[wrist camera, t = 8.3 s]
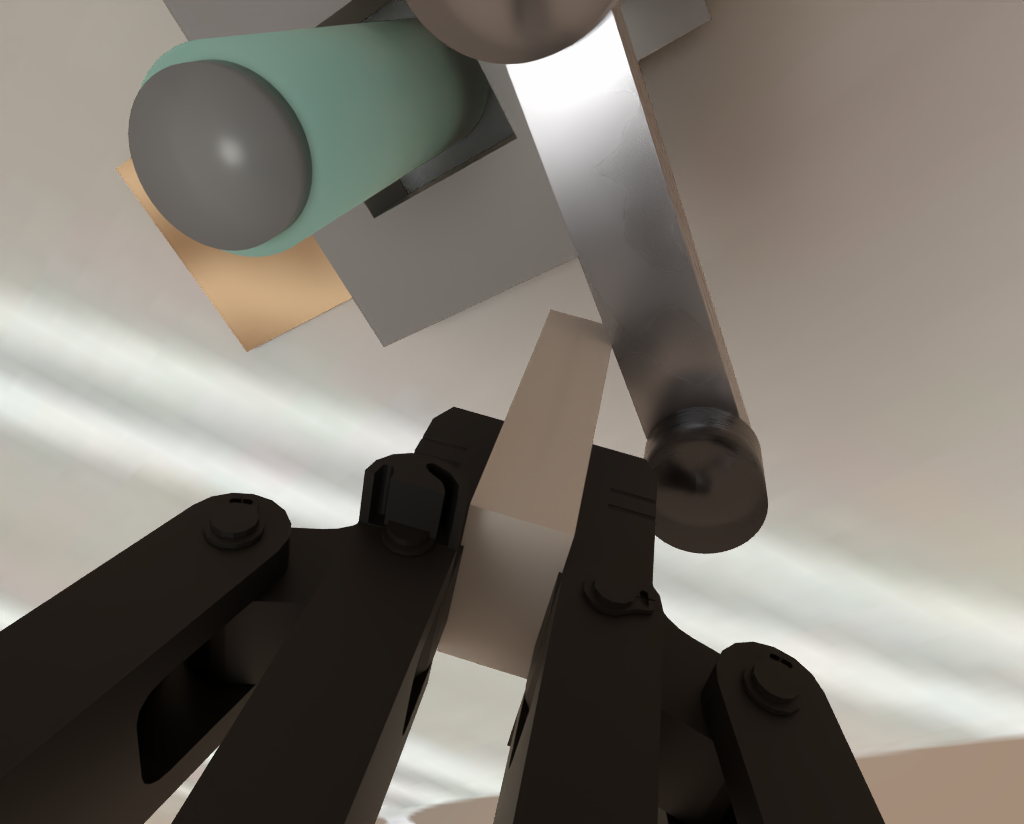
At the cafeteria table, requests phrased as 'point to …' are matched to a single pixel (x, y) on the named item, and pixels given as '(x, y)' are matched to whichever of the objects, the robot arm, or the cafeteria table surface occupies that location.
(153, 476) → the cafeteria table surface
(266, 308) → the cork mat
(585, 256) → the clip
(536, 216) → the socket block
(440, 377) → the cafeteria table surface
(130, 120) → the plug
